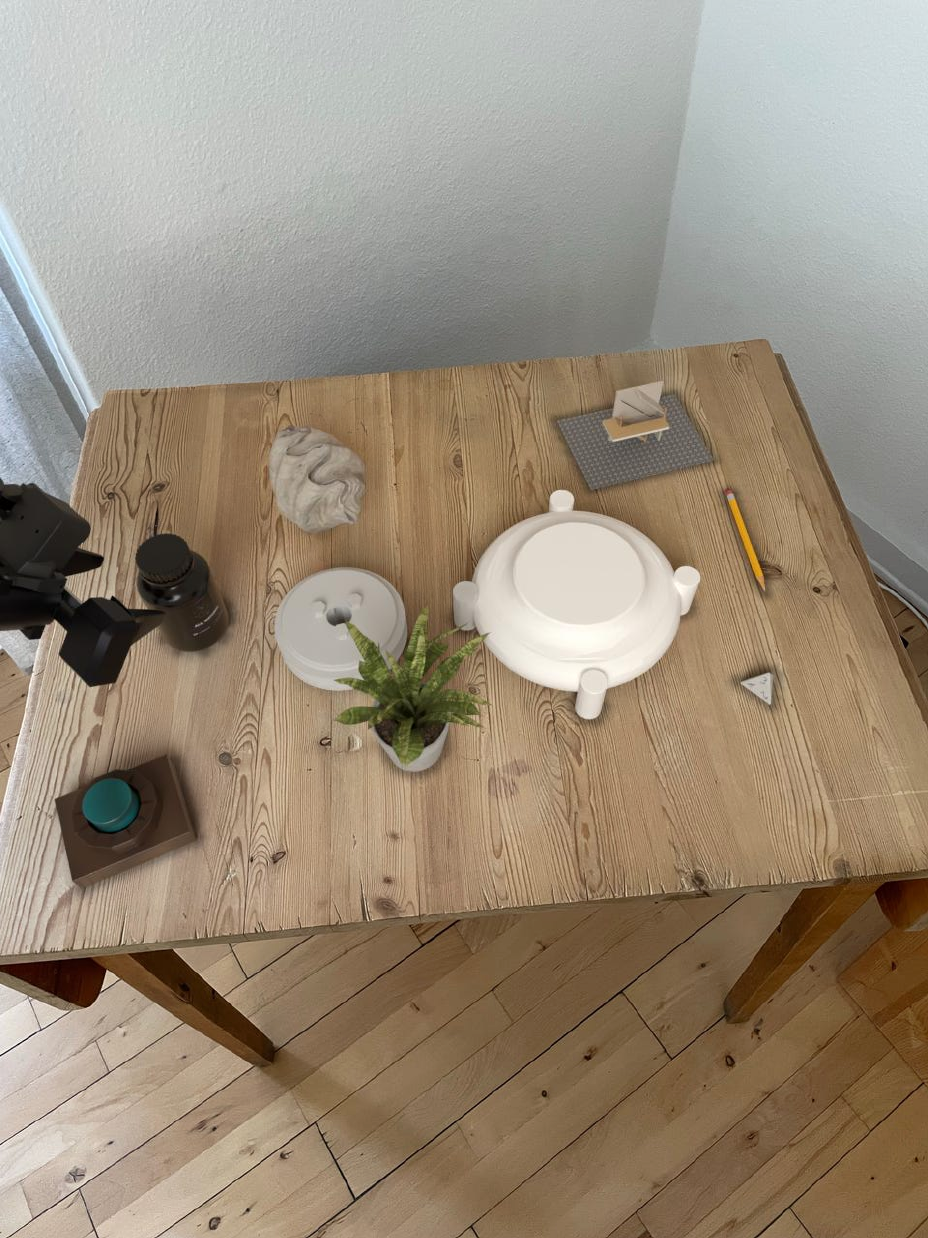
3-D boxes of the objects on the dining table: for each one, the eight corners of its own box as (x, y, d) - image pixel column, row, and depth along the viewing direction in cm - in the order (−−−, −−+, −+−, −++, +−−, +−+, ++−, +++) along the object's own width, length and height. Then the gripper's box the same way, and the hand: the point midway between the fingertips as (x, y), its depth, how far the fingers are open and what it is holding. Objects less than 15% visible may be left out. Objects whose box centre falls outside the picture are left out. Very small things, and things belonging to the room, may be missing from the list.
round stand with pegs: (446, 528, 94) (444, 484, 88) (666, 513, 95) (678, 468, 89) (462, 728, 81) (461, 692, 75) (716, 710, 82) (735, 673, 76)
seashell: (280, 567, 92) (260, 506, 84) (276, 463, 100) (257, 398, 92) (376, 555, 93) (366, 493, 84) (365, 453, 101) (354, 387, 92)
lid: (273, 602, 90) (263, 573, 85) (393, 576, 91) (389, 547, 87) (291, 708, 83) (280, 683, 79) (420, 678, 84) (417, 652, 80)
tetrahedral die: (743, 673, 85) (740, 656, 83) (773, 674, 84) (771, 657, 82) (740, 704, 84) (736, 687, 81) (770, 705, 82) (768, 688, 80)
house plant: (510, 819, 77) (517, 740, 63) (354, 844, 76) (326, 769, 62) (484, 679, 84) (484, 581, 71) (341, 699, 83) (314, 604, 70)
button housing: (82, 889, 74) (63, 875, 71) (64, 807, 78) (45, 791, 75) (196, 840, 76) (183, 824, 73) (173, 763, 80) (160, 745, 77)
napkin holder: (665, 449, 100) (677, 401, 94) (608, 462, 99) (617, 414, 93) (653, 429, 102) (664, 380, 96) (598, 441, 101) (605, 393, 95)
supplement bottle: (224, 655, 86) (190, 585, 76) (156, 654, 86) (113, 584, 76) (235, 597, 90) (205, 524, 80) (170, 597, 90) (131, 523, 80)
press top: (96, 840, 73) (87, 831, 71) (87, 798, 75) (77, 789, 73) (144, 820, 73) (135, 811, 72) (133, 779, 75) (125, 770, 74)
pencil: (731, 493, 97) (733, 489, 96) (767, 592, 89) (769, 588, 89) (724, 494, 97) (726, 490, 96) (760, 593, 89) (762, 589, 89)
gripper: (65, 571, 58) (232, 567, 72) (-77, 437, 65) (100, 457, 79) (16, 704, 62) (184, 676, 75) (-114, 564, 69) (62, 562, 82)
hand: (132, 588), depth 78 cm, fingers open, 9 cm apart
